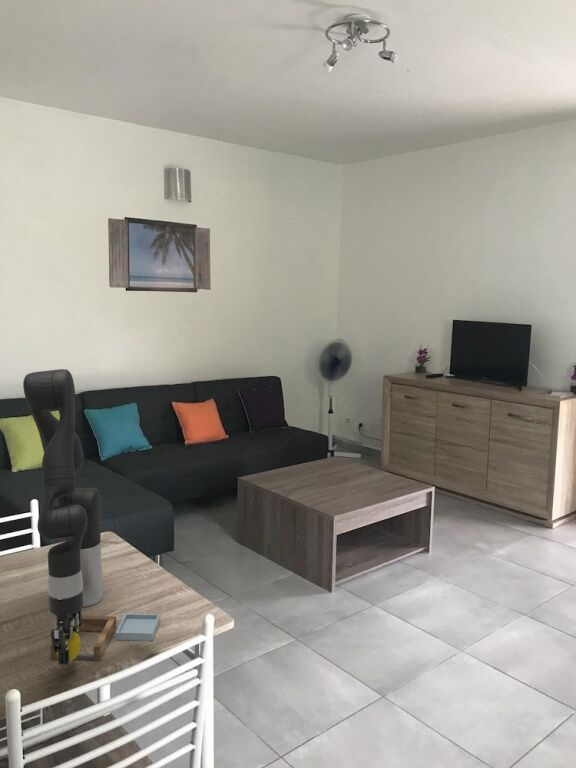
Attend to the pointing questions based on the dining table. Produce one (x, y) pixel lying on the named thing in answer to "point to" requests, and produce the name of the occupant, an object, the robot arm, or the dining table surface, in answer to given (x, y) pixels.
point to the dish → (138, 627)
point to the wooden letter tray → (107, 628)
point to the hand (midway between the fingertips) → (68, 655)
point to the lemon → (74, 645)
